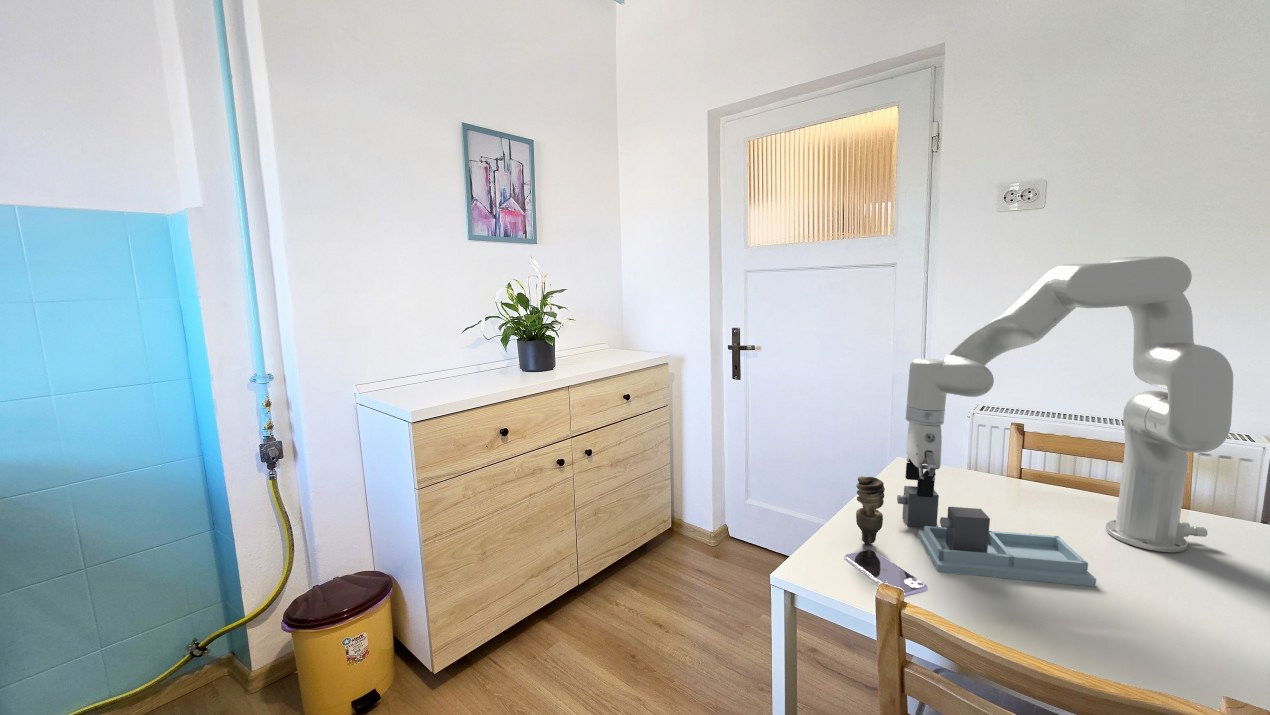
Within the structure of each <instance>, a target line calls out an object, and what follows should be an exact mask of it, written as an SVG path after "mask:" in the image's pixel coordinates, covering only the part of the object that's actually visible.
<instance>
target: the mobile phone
mask: <svg viewBox="0 0 1270 715" xmlns="http://www.w3.org/2000/svg"><path fill="white" fill-rule="evenodd" d="M843 559H844V560H845V559H846V560H847V561H846V560H845V561H846V562H848V561H849V562H850V563H851V564H850V563H849V562H848V563H849V564H850V565H852V564H853V565H854V566H856V567H857V568H859V569H860V570H861V571H863V572H864V573H866V574H868V575H869V576H871V577H873V578H875V579H876V580H877V582H878V583H888V584H890V585H893V586H896V587H900V588H902V589H903V590H904V593H905V596H904V597H907V596H910V595H915V594H917V593H922V592H926V591H928V590H929V588H928V585H927V584H926V583H924V582H923V581H921V580H920V579H918V578H917V577H915V576H913V575H912V574H911V573H909V572H908V571H906V570H904V569H903V568H901V567H900V566H898V565H897V564H895V563H894V562H892V561H890V560H889V559H887V558H886V557H885V556H882V555H881V554H880V553H878V552H876V551H875V550H873V549H864V550H861V551H856V552H855V551H854V552H850V553H846V554H844V556H843ZM853 565H852V566H853ZM856 567H855V568H856ZM857 568H856V569H857ZM859 569H858V570H859ZM860 570H859V571H860ZM861 571H860V572H861ZM863 572H862V573H863ZM864 573H863V574H864ZM866 574H865V575H866ZM886 581H887V582H886ZM878 583H877V584H878Z"/></svg>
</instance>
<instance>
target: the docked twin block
mask: <svg viewBox="0 0 1270 715" xmlns="http://www.w3.org/2000/svg"><path fill="white" fill-rule="evenodd" d="M939 521H940V522H939V523H940V524H939V525H940V527H942V528H947V531H946V544H947V546H948V547H949V549H950V550H959V551H970V552H982V553H987V549H988V537H989V531H990V522H991V518H990V517H989V516H988V515H987V514H986V512H984V510H983V509H982V508H976V507H975V508H973V507H961V506H960V507H958V506H948V507H947V517H944V516H942V517H940V519H939Z"/></svg>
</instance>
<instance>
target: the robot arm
mask: <svg viewBox="0 0 1270 715" xmlns="http://www.w3.org/2000/svg"><path fill="white" fill-rule="evenodd" d="M1192 277H1193V276H1192V271H1191V269H1190V267H1189V266H1188V265H1187V263H1186V262H1184V261H1183V260H1180V259H1178V258H1175V257H1172V256H1164V255H1163V256H1162V255H1160V256H1159V255H1157V256H1155V255H1154V256H1126V257H1119V258H1116V259H1111V260H1110V261H1109V262H1101V263H1100V262H1099V263H1098V262H1097V263H1066V264H1061V265H1058V266H1056V267H1053V268H1052V269H1050V270H1049V271H1047V273H1045V274H1044V275H1043V276H1042V277H1041V278H1040V279H1039V280H1037V282H1036V283H1034V284H1033V285H1032V286H1031V287H1030V288H1029V289H1028V290H1027V291H1026V292H1025V293H1024V294H1023V295H1021V296H1020V298H1018V299H1017V300H1016V301H1015V302H1014V303H1013V304H1012V305H1011V306H1009V308H1008V309H1006V310H1005V312H1003V313H1002V314H1000V316H998V317H996V318H994V319H993V320H991V321H990V322H988V323H987V324H985V325H984V326H982V327H981V328H978V329H977V330H975V331H974V332H972V333H971V334H969V335H968V336H966V337H965V338H964V339H963V340H962V341H961V342H959V344H957V346H955V347H953V349H952V350H951V351H950V352H949V353H948V354H947V355H946V356H945V357H944V358H943V359H942V360H941V359H935V358H916V359H913V360H912V361H911V362H910V365H909V369H908V370H909V373H908V384H907V385H908V386H907V395H906V396H907V397H906V409H905V420H906V422H908V427H907V428H908V429H907V437H906V449H905V450H906V455H907V457H906V464H905V465H906V467H905V476H904V477H905V479H906V480H907V481H909V480H910V481H917V485H916V487H917V496H920V497H933V494H934V490H935V484H936V483H935V481H936V470H940V468H941V466H942V465H941V463H942V438H943V437H942V425H944V423H945V415H946V414H945V412H946V401H947V395H953V396H954V395H955V396H959V397H966V398H977V397H980V396H984V395H986V394H987V393H989V392H990V391H991V390H992V388H993V386H994V382H995V379H994V378H995V377H994V374H993V373H992V371H991V370H990V369H989V368H988V367H987V366H986V365H988V364H989V363H990V362H991V361H993V360H994V359H996V358H997V357H999V356H1001V355H1002V354H1004V353H1007V352H1009V351H1012V350H1015V349H1020V348H1024V347H1027V346H1030V345H1032V344H1036V343H1037V342H1039V341H1041V340H1042V339H1043V338H1045V336H1046V335H1048V334H1049V332H1051V330H1053V328H1055V327H1056V326H1057V325H1058V324H1059V323H1061V321H1063V320H1064V319H1065V318H1066V317H1067V316H1068V315H1069V314H1071V312H1073V311H1074V310H1075V309H1077V308H1081V309H1103V308H1106V309H1107V308H1117V307H1118V308H1119V307H1127V309H1129V311H1130V314H1131V317H1132V321H1133V323H1132V325H1133V349H1132V350H1133V354H1132V356H1133V358H1132V366H1133V371H1134V375H1135V376H1136V377H1137V378H1138V379H1139V380H1141V381H1142V382H1144V383H1146V384H1148V385H1151V386H1153V387H1157V388H1160V389H1163V390H1167V391H1162V390H1147V391H1142V392H1140V393H1139V392H1138V393H1137V394H1135V395H1133V396H1132V397H1131V398H1130V399H1128V401H1127V402H1126V404H1125V406H1124V409H1123V413H1122V416H1123V418H1122V419H1123V420H1122V421H1123V422H1122V423H1123V429H1124V430H1123V431H1124V452H1123V453H1124V456H1123V463H1122V469H1121V470H1122V471H1121V477H1120V486H1119V492H1118V493H1119V494H1118V503H1117V509H1116V510H1117V511H1116V519H1113V520H1110V521H1108V522H1106V523H1105V531H1106V532H1107V534H1109V535H1110V536H1111V537H1113V538H1114V539H1117V540H1118V541H1121V542H1123V543H1125V544H1128V545H1131V546H1134V547H1137V548H1140V549H1145V550H1147V551H1154V552H1161V553H1179V552H1180V553H1181V552H1184V551H1186V550H1187V548H1188V541H1187V540H1186V539H1185V538H1188V537H1189V536H1193V537H1200V538H1201V537H1203V538H1206V537H1207V536H1208V535H1209V534H1208V533H1209V532H1208V530H1207V528H1205V527H1203V526H1193V525H1192V526H1191V525H1190V523H1189V522H1185V521H1181V520H1180V519H1181V514H1182V506H1183V500H1184V493H1185V484H1186V477H1187V473H1188V465H1189V464H1188V463H1189V462H1188V460H1189V459H1188V458H1189V457H1188V452H1189V453H1193V454H1194V453H1196V454H1198V453H1199V454H1204V453H1208V452H1212V451H1214V450H1216V449H1218V448H1219V447H1221V446H1222V445H1223V444H1224V442H1225V441H1226V439H1228V436H1229V434H1230V431H1231V428H1232V427H1231V426H1232V416H1233V415H1232V414H1233V397H1234V373H1233V368H1232V366H1231V363H1230V362H1229V361H1228V359H1227V357H1226V356H1225V355H1223V354H1222V353H1221V352H1220V351H1218V350H1216V349H1214V348H1212V347H1210V346H1206V345H1200V344H1195V341H1194V321H1193V312H1192V311H1193V310H1192V307H1191V304H1190V302H1189V300H1188V298H1187V296H1186V295H1185V294H1184V293H1185V292H1186V291H1187V289H1189V287H1190V285H1191V283H1192Z"/></svg>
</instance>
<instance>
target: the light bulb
mask: <svg viewBox="0 0 1270 715" xmlns="http://www.w3.org/2000/svg"><path fill="white" fill-rule="evenodd" d="M857 481H858V482H857V484H856V486H855V487H856V488H857V489H858V490H857V491H856V494H857V496H856V500H857V502H858V503H860V504H861V505H862V508H859V509H857V510H856V512H855V514H856V515H855V521H856V525H857V528H859V530H860V531H861V541H862V542H863V544H864V545H865V546H870V545H871V544H873V543H875V541H877V533H879V531H880V530H882V527H883V523H884V522H883V521H884V514H883V513H882V511H880V510H878V509H880V508H881V507H882V506H883V505H884V503H885V501H884V498H885V491H886V490H885V489H886V488H885V485H884V482H883V481H882V480H881V479H878V478H877V477H875V476H862V475H861V476H858V478H857Z"/></svg>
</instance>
